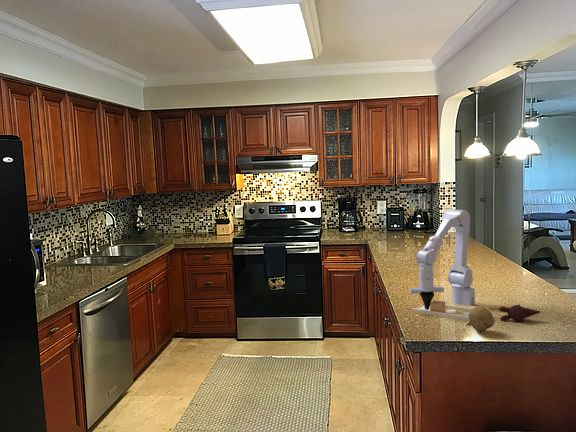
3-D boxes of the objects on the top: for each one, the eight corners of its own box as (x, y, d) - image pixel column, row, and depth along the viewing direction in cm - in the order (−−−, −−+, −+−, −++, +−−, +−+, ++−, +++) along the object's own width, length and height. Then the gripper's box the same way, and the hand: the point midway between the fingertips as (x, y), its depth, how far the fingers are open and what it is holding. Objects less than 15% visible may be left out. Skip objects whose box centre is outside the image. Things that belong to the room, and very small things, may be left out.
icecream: (536, 302, 197) (496, 305, 200) (540, 303, 190) (499, 305, 193) (538, 320, 195) (499, 322, 199) (543, 321, 188) (502, 323, 192)
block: (445, 312, 206) (445, 301, 205) (442, 315, 202) (442, 304, 201) (433, 310, 208) (433, 300, 208) (430, 313, 204) (430, 303, 204)
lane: (483, 317, 201) (483, 309, 201) (472, 325, 191) (471, 317, 191) (425, 307, 218) (424, 300, 218) (411, 315, 208) (411, 307, 208)
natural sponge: (488, 327, 188) (487, 302, 187) (498, 335, 180) (498, 309, 179) (465, 329, 188) (464, 304, 187) (474, 336, 179) (474, 310, 178)
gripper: (439, 275, 211) (440, 305, 212) (407, 276, 210) (407, 307, 211) (445, 278, 204) (446, 310, 205) (411, 280, 203) (412, 311, 204)
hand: (427, 309), depth 208 cm, fingers closed
